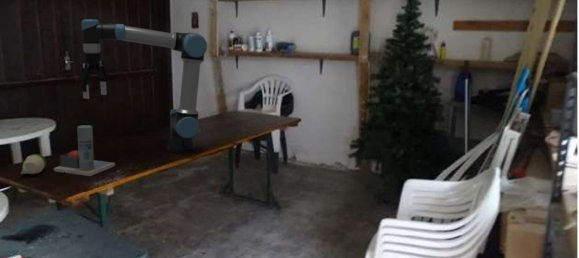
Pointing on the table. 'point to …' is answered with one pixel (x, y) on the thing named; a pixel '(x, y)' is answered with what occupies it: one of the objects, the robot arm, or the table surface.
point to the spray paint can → (85, 147)
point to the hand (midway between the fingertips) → (95, 96)
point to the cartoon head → (33, 164)
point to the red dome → (73, 154)
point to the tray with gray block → (73, 166)
